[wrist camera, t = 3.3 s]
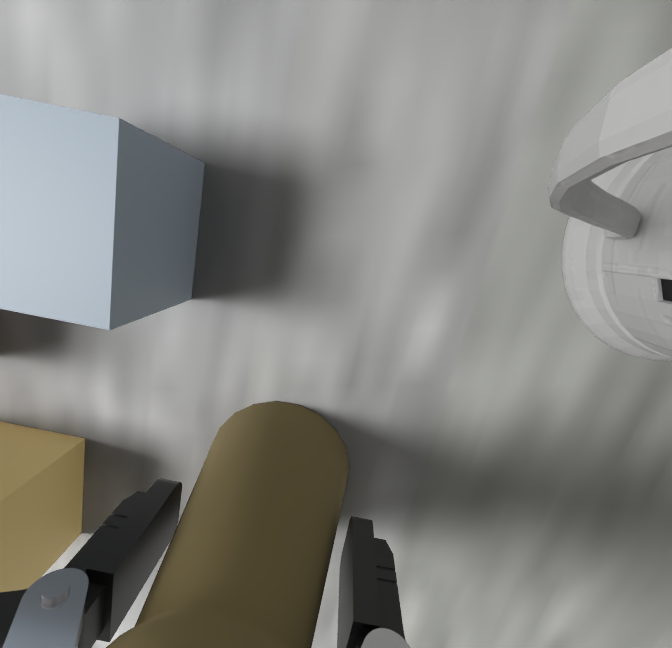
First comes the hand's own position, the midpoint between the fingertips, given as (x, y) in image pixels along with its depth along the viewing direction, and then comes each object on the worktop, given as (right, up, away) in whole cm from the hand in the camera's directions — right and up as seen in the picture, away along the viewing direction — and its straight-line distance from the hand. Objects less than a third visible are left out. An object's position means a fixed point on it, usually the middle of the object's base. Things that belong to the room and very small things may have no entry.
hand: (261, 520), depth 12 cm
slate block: (-5, +11, +1) cm, 12 cm away
